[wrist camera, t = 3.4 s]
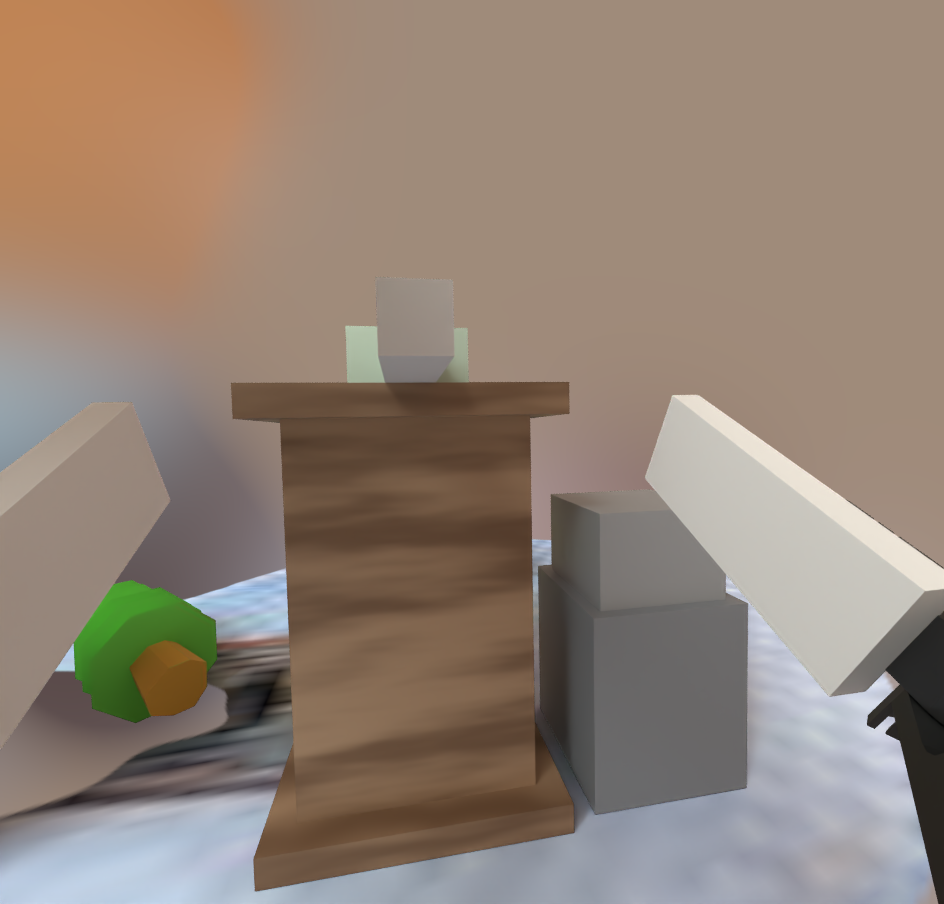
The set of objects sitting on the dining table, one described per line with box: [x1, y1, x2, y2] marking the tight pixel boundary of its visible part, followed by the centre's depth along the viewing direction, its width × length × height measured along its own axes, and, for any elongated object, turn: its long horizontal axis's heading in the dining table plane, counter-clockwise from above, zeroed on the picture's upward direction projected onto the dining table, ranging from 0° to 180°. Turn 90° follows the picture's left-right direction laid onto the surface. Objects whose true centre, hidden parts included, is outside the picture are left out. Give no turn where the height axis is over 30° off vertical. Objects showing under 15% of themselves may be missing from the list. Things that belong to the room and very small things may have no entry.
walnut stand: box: [231, 382, 574, 891], centre depth 33 cm, size 14×20×30 cm
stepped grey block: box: [538, 490, 748, 815], centre depth 37 cm, size 12×12×21 cm
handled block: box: [346, 277, 469, 383], centre depth 27 cm, size 20×8×4 cm, turn 10°
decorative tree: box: [74, 580, 217, 723], centre depth 48 cm, size 11×12×30 cm
